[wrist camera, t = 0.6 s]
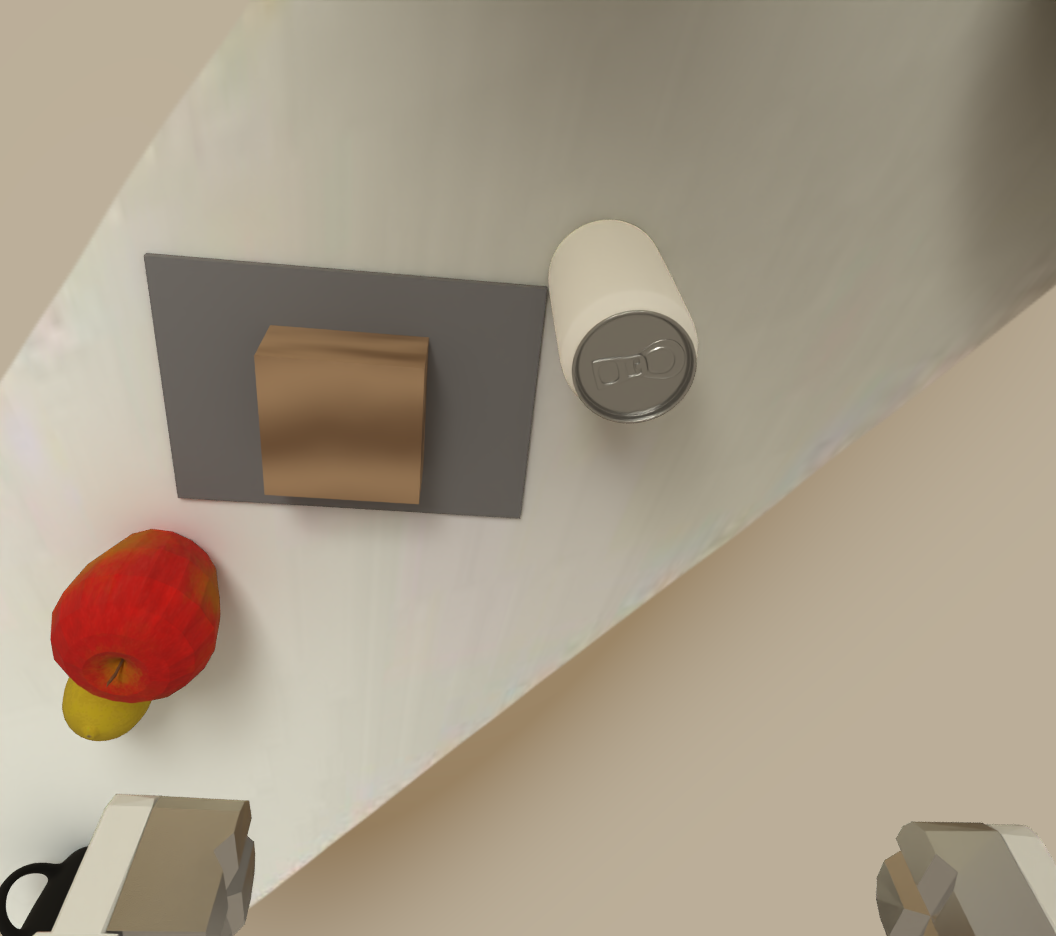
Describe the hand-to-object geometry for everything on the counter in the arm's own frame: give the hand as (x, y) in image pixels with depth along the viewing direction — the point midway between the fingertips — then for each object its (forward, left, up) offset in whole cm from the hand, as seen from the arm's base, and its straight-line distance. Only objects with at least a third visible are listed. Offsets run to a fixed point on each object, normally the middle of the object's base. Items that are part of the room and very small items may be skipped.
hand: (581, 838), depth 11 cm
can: (+7, +6, -41) cm, 42 cm away
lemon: (+38, -24, -41) cm, 61 cm away
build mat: (+16, -8, -40) cm, 44 cm away
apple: (+29, -20, -41) cm, 54 cm away
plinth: (+16, -8, -40) cm, 44 cm away
